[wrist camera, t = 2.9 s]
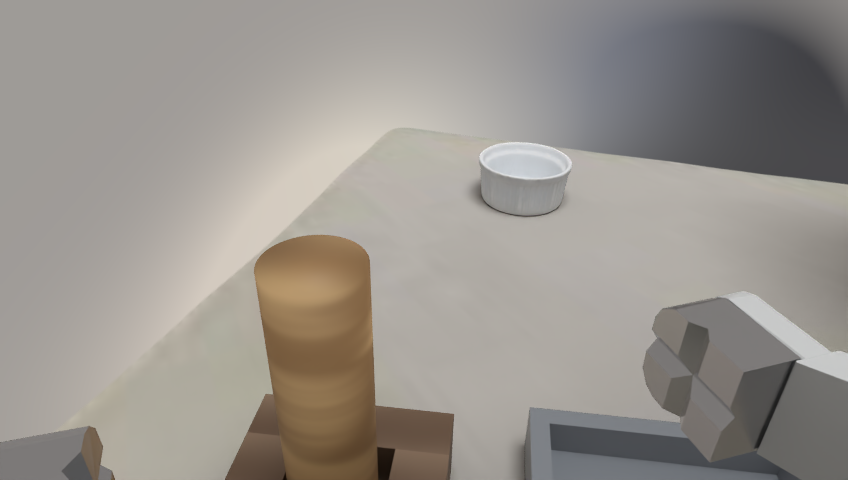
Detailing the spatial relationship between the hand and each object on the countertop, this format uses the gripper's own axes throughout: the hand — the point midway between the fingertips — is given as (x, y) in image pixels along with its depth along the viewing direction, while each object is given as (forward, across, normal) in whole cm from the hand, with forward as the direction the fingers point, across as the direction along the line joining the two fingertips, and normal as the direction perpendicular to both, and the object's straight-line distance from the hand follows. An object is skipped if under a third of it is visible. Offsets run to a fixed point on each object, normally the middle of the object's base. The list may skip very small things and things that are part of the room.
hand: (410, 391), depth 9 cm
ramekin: (+43, -24, +22) cm, 54 cm away
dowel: (+12, 0, +22) cm, 25 cm away
